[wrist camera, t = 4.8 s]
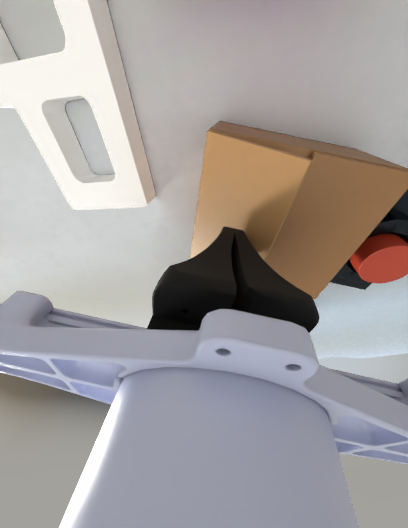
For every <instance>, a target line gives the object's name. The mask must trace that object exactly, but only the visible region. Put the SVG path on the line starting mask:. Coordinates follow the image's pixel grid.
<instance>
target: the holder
mask: <svg viewBox="0 0 408 528" xmlns="http://www.w3.org/2000/svg"><path fill="white" fill-rule="evenodd" d="M53 2H54V5H55V8H56V10H57V13H58V16H59V19H60V21H61V24H62V27H63V30H64V33H65V39H66V43H65V47H64V49H63V50H62V51H61V52H58V53H53V54H48V55H43V56H38V57H34V58H29V59H24V60H18V58H17V56H16V54H15V52H14V50H13V48H12V46H11V44H10V42H9V40H8V38H7V36H6V34H5V32H4V30H3V27H2V25H1V23H0V108H15V109H16V110H17V111H18V113H19V115H20V117H21V119H22V120H23V122H24V124H25V126H26V128H27V129H28V131H29V133H30V135H31V137H32V138H33V140H34V142H35V144H36V146H37V147H38V149H39V151H40V153H41V155H42V157H43V158H44V160H45V162H46V164H47V166H48V167H49V169H50V171H51V173H52V175H53V176H54V178H55V180H56V182H57V184H58V185H59V187H60V189H61V191H62V193H63V194H64V196H65V198H66V200H67V202H68V203H69V205H70V207H71V208H72V209H74V210H86V209H112V208H138V207H146V206H147V205H148V204H149V203H150V202H151V200H152V199H153V198H154V197H155V196H156V193H155V189H154V185H153V181H152V177H151V173H150V169H149V165H148V162H147V158H146V154H145V150H144V146H143V142H142V138H141V134H140V130H139V126H138V122H137V118H136V114H135V110H134V106H133V102H132V99H131V95H130V91H129V87H128V83H127V79H126V75H125V71H124V67H123V63H122V59H121V55H120V51H119V47H118V43H117V40H116V36H115V32H114V28H113V24H112V20H111V16H110V12H109V8H108V4H107V0H53ZM84 98H85V99H86V100H87V101H88V102H89V104H90V105H91V108H92V110H93V113H94V116H95V118H96V121H97V124H98V127H99V129H100V132H101V135H102V138H103V141H104V143H105V146H106V149H107V152H108V154H109V157H110V160H111V163H112V165H113V168H114V171H115V174H114V175H101V176H100V175H96V174H94V173H93V172H92V171H91V169H90V167H89V165H88V163H87V161H86V158H85V156H84V154H83V151H82V149H81V147H80V144H79V142H78V140H77V137H76V135H75V133H74V130H73V128H72V126H71V124H70V121H69V119H68V117H67V114H66V111H65V105H66V103H67V102H68V101H71V100H77V99H84Z"/></svg>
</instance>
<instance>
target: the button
mask: <svg viewBox="0 0 408 528" xmlns="http://www.w3.org/2000/svg"><path fill="white" fill-rule="evenodd" d="M350 263H351V265H352V266H353V268H354V269H355V270H356V272H357V273H358V275H359V276H360V277H361V278H362V279H363V280H365V281H367V282H370V283H386V282H391V281H394V280H397V279H400V278H402V277H404V276H405V275H407V274H408V243H407V242H406V241H405V240H404V239H402V238H401V237H400V236H398V235H395V234H379V235H375V236H372V237H369V238H368V239H366V240H365V241H364V242H363V243H362V244H361V245H360V246H359V248H358V249H357V250H356V251H355V252H354V254H353V255H352V256H351V257H350Z"/></svg>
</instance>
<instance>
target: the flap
mask: <svg viewBox="0 0 408 528" xmlns="http://www.w3.org/2000/svg"><path fill="white" fill-rule="evenodd" d="M312 162H313V160H311V159H308V158H304V157H301V156H297V155H294V154H290V153H287V152H284V151H280V150H277V149H273V148H270V147H266V146H263V145H259V144H256V143H252V142H249V141H246V140H242V139H239V138H235V137H232V136H228V135H225V134H221V133H218V132H214V131H210V130H208V131H207V138H206V145H205V152H204V160H203V167H202V174H201V181H200V189H199V196H198V203H197V210H196V217H195V225H194V232H193V239H192V246H191V253H190V259H191V258H193V257H195V256H196V255H198V254H199V253H201V252H202V251H204V250H205V249H206V248H207V247H208V246H209V245H210V244H211V243H212V242H213V241H214V240H215V239H216V238H217V237H218V235H219V234H220V232H221V231H222V228H223V227H224V226H225V227H230V228H235V229H240V230H243V231H244V232H245V234H246V236H247V238H248V239H249V241H250V243H251V244H252V246H253V247H254V249H255V250H256V251H257V253H258V254H259V255H260V256H261V258H262V259H263V260H264V261H266V259H267V256H268V254H269V252H270V250H271V248H272V246H273V244H274V242H275V240H276V238H277V235H278V233H279V231H280V229H281V227H282V225H283V223H284V221H285V219H286V217H287V214H288V212H289V210H290V208H291V206H292V204H293V202H294V200H295V198H296V196H297V193H298V191H299V189H300V187H301V185H302V183H303V181H304V179H305V177H306V175H307V172H308V170H309V168H310V166H311V164H312Z"/></svg>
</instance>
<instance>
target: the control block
mask: <svg viewBox="0 0 408 528" xmlns="http://www.w3.org/2000/svg"><path fill="white" fill-rule="evenodd" d="M379 234H395V235H398V236H400V237H401V238H402V239H404V240H405V241H406V242H407V243H408V189H407V191H406V192H405V193H404V194H403V195H402V197H401V198H400V199H399V200H398V201H397V202H396V204H395V205H394V206H393V207H392V208H391V210H390V211H389V212H388V213H387V214H386V216H385V217H384V218H383V219H382V220H381V222H380V223H379V224H378V225H377V226H376V227H375V229H374V230H373V231H372V232H371V233H370V235H369V236H368V237H367V238H366V239H368V238H369V237H372V236H375V235H379ZM366 239H365V240H366ZM330 282H332V283H336V284H341V285H346V286H350V287H355V288H359V289H364V290H365V289H366V288H367V287H368V286H369V285H370V284H372V283H370V282H367V281H365V280H363V279H362V278H361V277H360V276H359V275H358V273H357V272H356V270H355V269H354V268H353V266H352V265H351V263H350V258H349V260H348V261H347V262H346V263H345V264H344V265H343V267H342V268H341V269H340V270H339V271H338V273H337V274H336V275H335V276H334V277H333V279H332V280H331V281H330Z"/></svg>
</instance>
